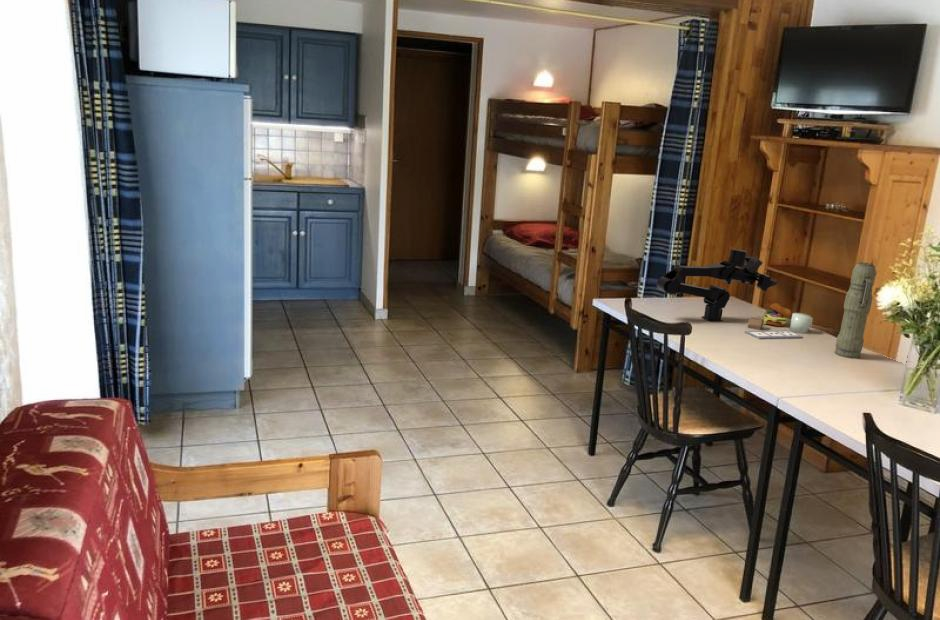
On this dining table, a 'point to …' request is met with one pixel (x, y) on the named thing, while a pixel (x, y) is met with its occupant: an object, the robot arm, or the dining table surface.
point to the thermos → (856, 311)
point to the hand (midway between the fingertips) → (770, 279)
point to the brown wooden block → (755, 323)
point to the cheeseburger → (777, 315)
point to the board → (773, 334)
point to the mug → (800, 323)
